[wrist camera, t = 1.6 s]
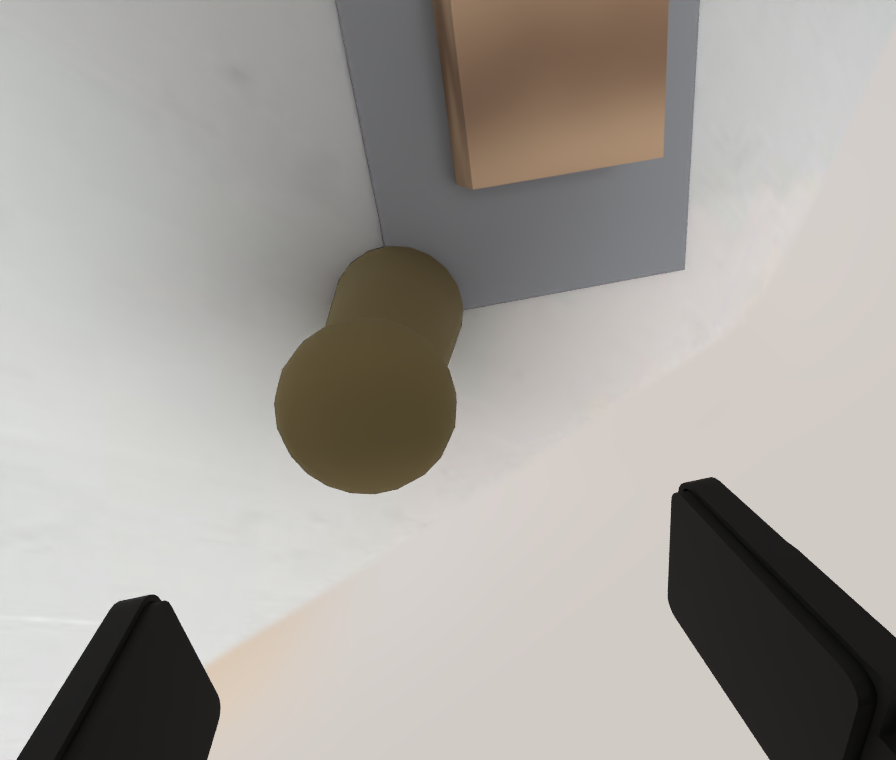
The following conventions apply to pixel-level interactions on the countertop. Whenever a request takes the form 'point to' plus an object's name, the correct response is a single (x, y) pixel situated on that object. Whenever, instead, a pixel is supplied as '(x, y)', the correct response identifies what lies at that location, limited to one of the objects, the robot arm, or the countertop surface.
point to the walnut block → (551, 85)
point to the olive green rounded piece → (375, 376)
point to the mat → (521, 203)
